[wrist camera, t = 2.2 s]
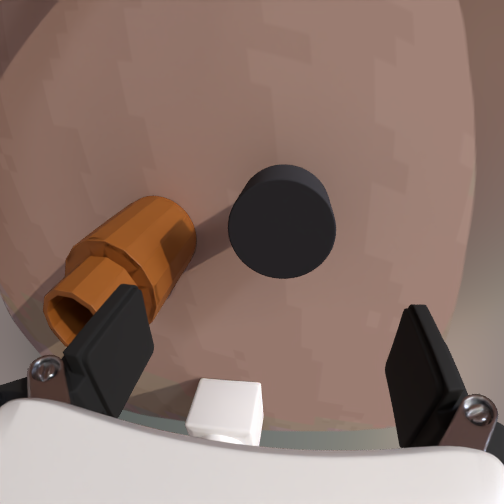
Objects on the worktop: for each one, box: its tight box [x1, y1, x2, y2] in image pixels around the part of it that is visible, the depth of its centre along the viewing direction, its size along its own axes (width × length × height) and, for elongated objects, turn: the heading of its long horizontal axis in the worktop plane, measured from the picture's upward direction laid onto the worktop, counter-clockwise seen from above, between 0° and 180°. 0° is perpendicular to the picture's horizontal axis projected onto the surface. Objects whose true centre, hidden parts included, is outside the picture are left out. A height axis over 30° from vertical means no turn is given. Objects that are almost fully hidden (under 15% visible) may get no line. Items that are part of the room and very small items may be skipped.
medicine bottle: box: [185, 378, 263, 446], centre depth 31 cm, size 7×7×12 cm
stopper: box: [228, 165, 336, 279], centre depth 21 cm, size 6×6×8 cm
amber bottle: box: [43, 196, 196, 347], centre depth 22 cm, size 7×7×13 cm
